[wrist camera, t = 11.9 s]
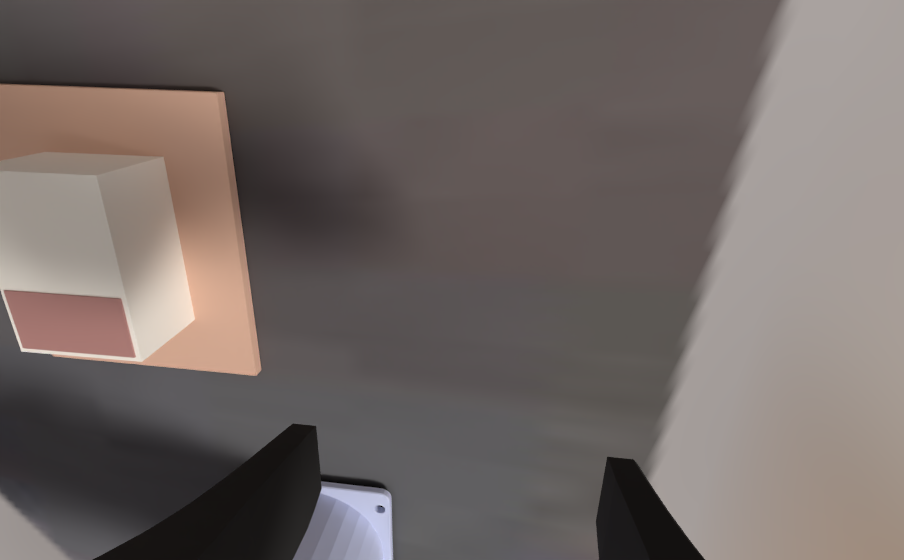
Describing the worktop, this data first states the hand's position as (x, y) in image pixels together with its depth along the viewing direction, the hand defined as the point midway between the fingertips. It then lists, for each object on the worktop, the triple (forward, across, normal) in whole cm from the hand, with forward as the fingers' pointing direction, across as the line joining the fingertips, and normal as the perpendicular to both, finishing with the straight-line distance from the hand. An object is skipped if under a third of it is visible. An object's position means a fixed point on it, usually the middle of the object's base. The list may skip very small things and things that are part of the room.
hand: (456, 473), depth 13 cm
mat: (+9, +15, -2) cm, 18 cm away
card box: (+9, +15, -2) cm, 18 cm away
